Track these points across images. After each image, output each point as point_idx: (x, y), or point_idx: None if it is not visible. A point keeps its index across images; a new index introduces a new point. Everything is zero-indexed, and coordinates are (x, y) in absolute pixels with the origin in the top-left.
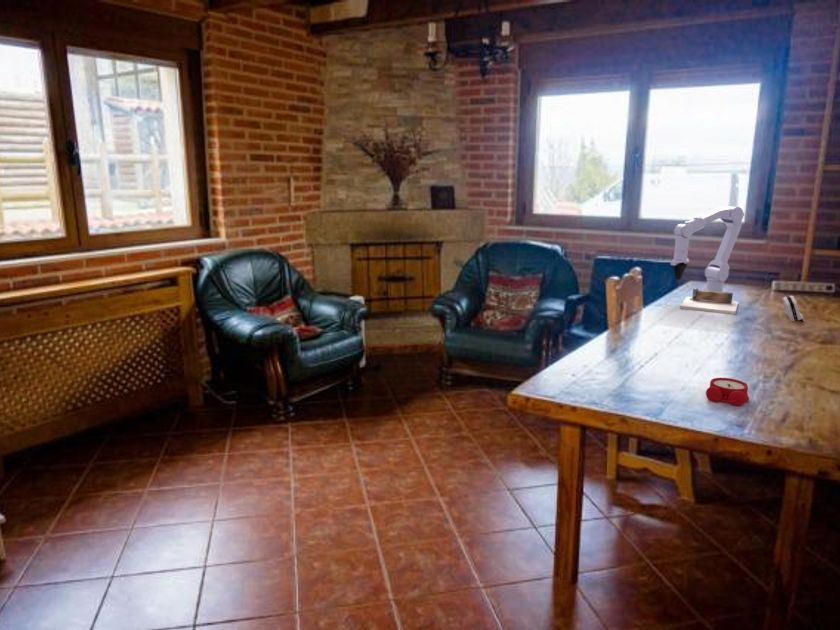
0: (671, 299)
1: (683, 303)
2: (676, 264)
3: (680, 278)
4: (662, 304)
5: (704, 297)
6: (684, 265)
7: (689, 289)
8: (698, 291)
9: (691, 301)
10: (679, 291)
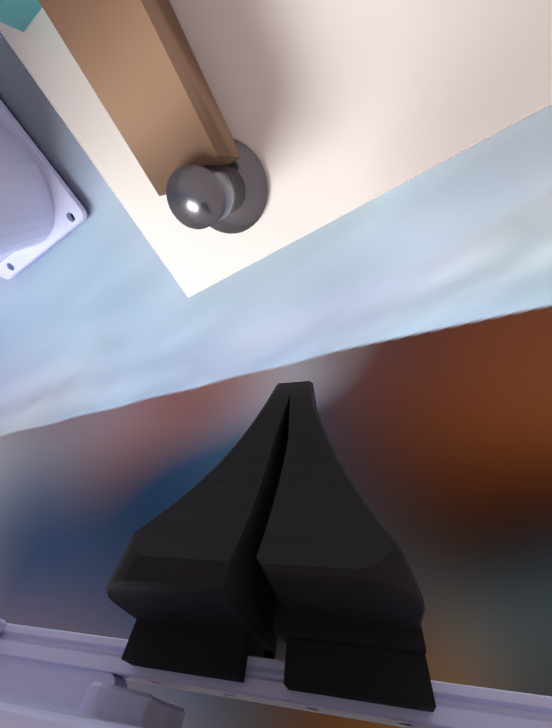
0: (293, 335)
1: (478, 127)
2: (533, 701)
3: (293, 387)
4: (512, 279)
5: (190, 64)
6: (299, 580)
7: (15, 407)
8: (210, 138)
9: (318, 150)
10: (91, 410)
